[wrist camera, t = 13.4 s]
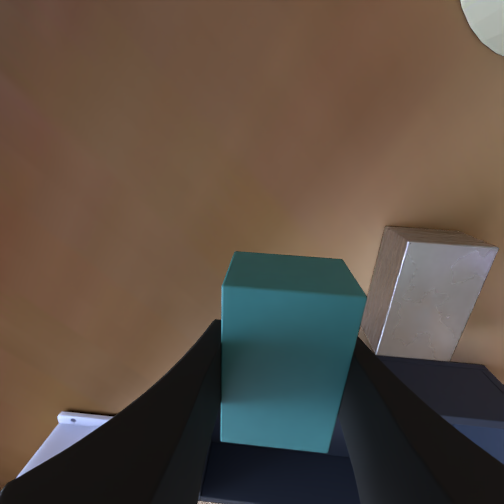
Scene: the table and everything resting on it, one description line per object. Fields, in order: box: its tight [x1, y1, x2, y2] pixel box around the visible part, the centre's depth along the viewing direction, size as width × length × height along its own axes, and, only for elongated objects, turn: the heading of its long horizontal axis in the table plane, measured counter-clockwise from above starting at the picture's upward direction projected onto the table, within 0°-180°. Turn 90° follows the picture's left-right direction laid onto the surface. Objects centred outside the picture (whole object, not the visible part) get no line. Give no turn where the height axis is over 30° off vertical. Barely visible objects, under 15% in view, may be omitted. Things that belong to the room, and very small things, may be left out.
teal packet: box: [221, 251, 367, 453], centre depth 10 cm, size 4×7×3 cm, turn 177°
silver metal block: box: [360, 226, 499, 362], centre depth 15 cm, size 4×7×3 cm, turn 177°
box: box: [198, 355, 504, 504], centre depth 18 cm, size 20×11×4 cm, turn 87°
